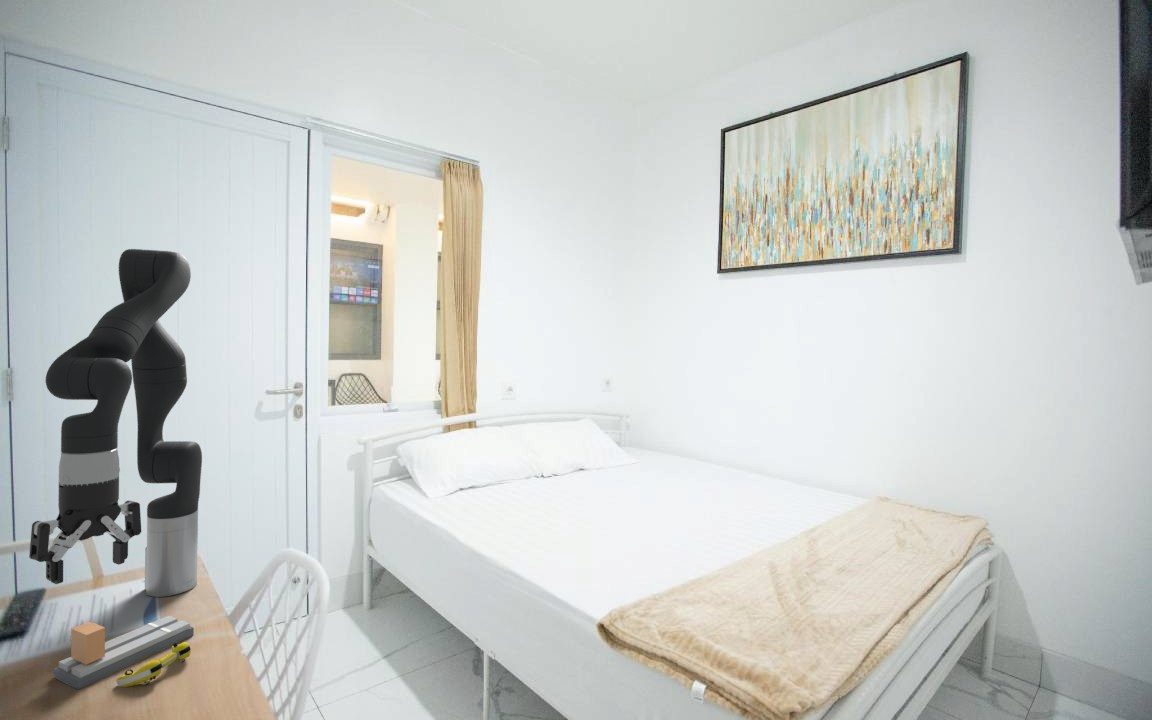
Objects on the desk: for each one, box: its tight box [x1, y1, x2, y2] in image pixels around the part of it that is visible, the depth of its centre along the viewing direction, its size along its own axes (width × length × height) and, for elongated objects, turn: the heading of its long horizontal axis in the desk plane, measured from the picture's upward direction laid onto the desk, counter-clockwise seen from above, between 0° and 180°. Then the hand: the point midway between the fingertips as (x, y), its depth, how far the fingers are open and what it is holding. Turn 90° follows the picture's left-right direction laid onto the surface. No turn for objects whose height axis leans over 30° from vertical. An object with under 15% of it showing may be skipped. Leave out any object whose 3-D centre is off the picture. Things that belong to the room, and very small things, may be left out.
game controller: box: [116, 641, 192, 688], centre depth 93 cm, size 10×6×4 cm, turn 168°
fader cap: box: [70, 621, 106, 665], centre depth 91 cm, size 3×4×6 cm, turn 67°
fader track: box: [53, 615, 194, 690], centre depth 97 cm, size 18×7×3 cm, turn 157°
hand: (88, 572), depth 91 cm, fingers open, 8 cm apart
